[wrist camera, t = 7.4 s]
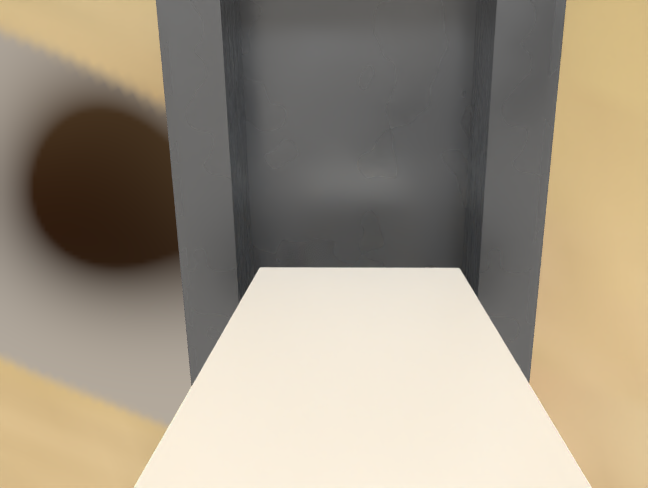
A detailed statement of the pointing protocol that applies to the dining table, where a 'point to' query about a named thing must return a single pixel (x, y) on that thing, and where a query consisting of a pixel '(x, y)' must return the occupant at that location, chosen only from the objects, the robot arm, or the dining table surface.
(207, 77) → the grey rectangular tray
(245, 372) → the block
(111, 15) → the dining table surface
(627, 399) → the dining table surface
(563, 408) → the dining table surface
